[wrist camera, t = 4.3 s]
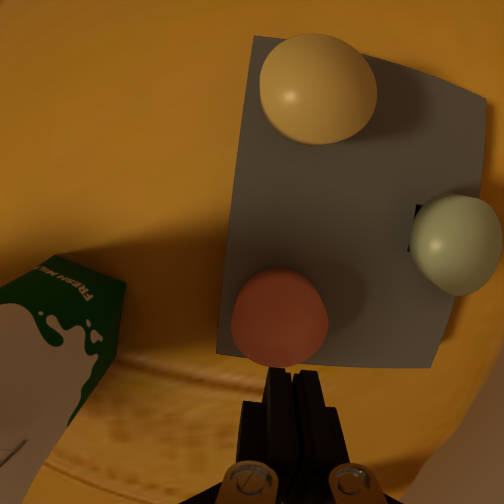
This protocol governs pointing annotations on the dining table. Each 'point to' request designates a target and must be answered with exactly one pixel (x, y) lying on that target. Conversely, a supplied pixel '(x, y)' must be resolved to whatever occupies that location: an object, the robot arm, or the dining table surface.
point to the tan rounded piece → (317, 90)
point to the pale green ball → (456, 242)
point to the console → (354, 213)
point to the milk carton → (50, 360)
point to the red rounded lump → (279, 318)
